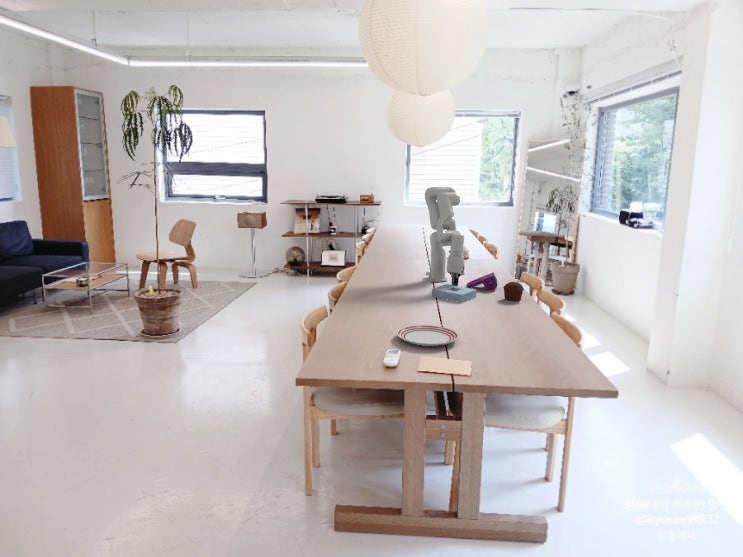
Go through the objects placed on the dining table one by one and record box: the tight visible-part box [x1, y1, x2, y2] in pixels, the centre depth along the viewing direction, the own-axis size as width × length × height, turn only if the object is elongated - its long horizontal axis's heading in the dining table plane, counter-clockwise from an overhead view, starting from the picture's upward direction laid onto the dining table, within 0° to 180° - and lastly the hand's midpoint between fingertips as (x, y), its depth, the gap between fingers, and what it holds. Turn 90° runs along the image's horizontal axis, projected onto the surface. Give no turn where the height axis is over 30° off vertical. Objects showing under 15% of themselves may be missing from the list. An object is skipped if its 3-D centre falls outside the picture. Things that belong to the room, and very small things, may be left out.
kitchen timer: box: [463, 244, 470, 261], centre depth 432 cm, size 14×14×15 cm
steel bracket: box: [451, 273, 459, 286], centre depth 334 cm, size 4×5×10 cm
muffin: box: [502, 281, 524, 302], centre depth 314 cm, size 12×11×10 cm
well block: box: [431, 283, 477, 304], centre depth 318 cm, size 20×16×4 cm
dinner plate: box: [396, 324, 460, 347], centre depth 246 cm, size 28×27×3 cm
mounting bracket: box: [465, 271, 498, 291], centre depth 339 cm, size 9×8×18 cm
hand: (454, 283), depth 334 cm, fingers closed on steel bracket, 1 cm apart
